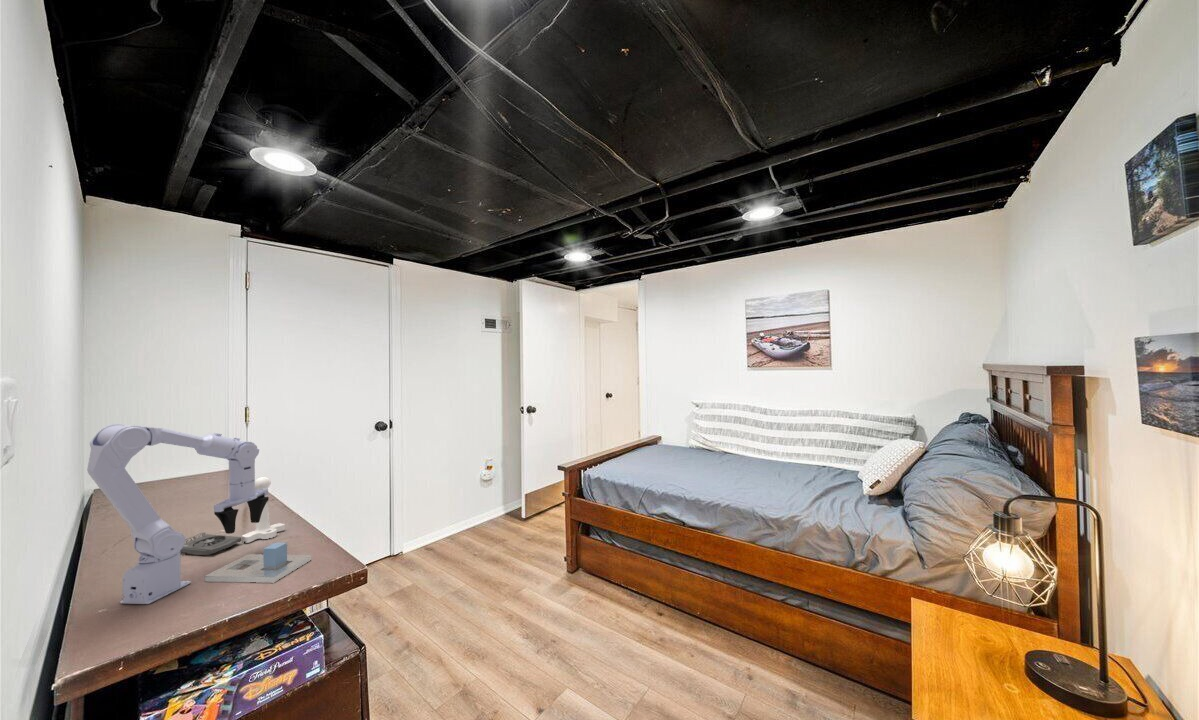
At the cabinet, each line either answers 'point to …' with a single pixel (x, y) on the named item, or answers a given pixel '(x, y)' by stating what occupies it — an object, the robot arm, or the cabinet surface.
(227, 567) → the panel
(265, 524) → the joystick
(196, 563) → the cabinet surface
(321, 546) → the cabinet surface
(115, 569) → the cabinet surface
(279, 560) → the plug
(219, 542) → the graphics card
